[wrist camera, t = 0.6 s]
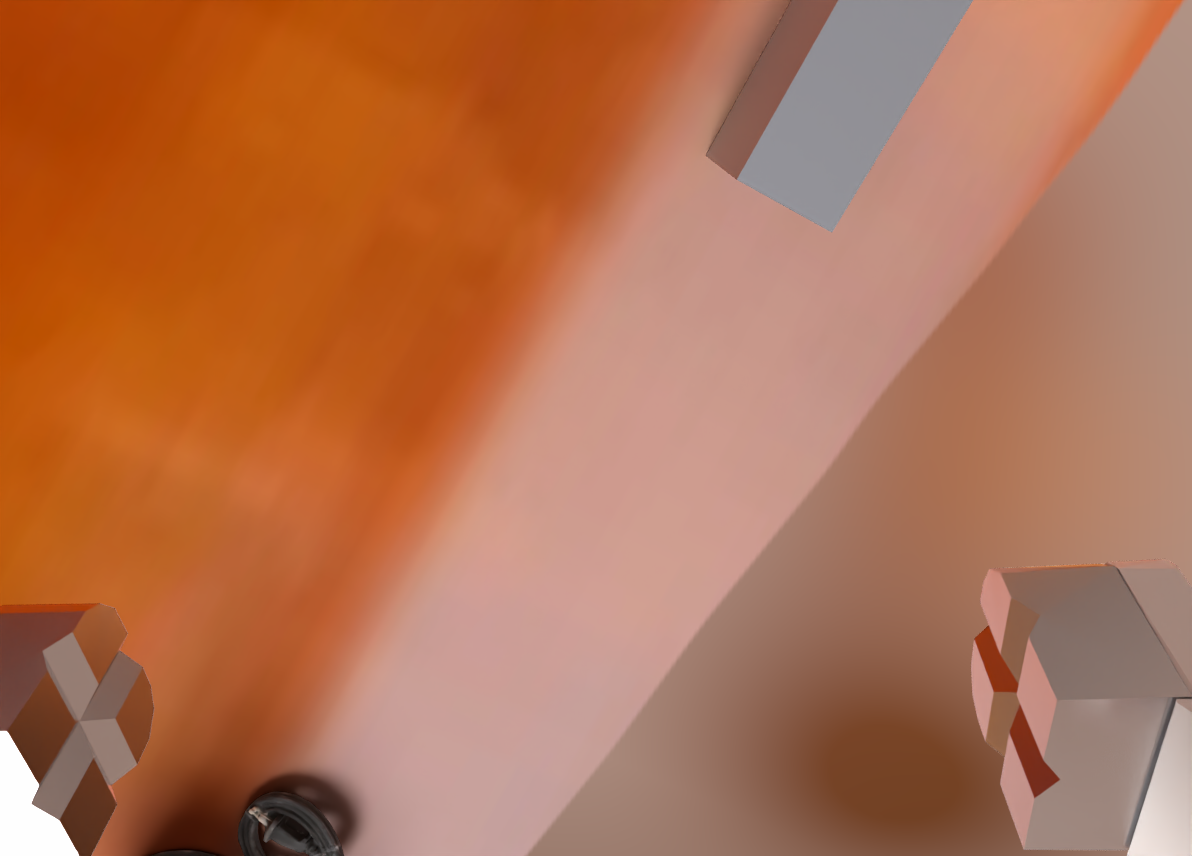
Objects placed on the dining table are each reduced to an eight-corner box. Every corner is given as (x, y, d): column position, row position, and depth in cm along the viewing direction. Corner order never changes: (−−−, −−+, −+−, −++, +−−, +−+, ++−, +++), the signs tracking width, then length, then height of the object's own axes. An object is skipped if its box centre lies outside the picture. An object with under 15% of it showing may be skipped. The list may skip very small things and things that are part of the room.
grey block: (788, 201, 53) (832, 232, 46) (705, 155, 52) (736, 179, 45) (931, -42, 50) (1003, -51, 42) (845, -98, 48) (904, -117, 41)
